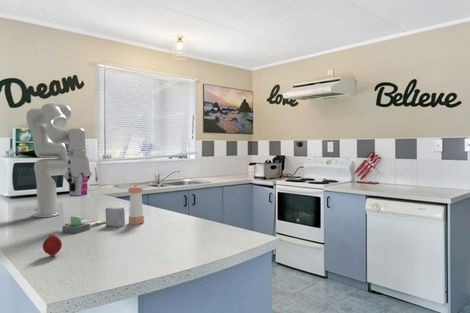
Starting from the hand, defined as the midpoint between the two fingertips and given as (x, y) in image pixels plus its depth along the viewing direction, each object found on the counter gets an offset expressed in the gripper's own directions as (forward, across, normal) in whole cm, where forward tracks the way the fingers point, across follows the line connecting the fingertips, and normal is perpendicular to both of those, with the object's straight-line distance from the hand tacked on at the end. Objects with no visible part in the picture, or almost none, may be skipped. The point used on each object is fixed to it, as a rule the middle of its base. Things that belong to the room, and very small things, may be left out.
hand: (78, 190), depth 166 cm
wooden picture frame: (+17, +2, -2) cm, 17 cm away
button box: (+17, -9, -8) cm, 21 cm away
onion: (+18, -38, -31) cm, 53 cm away
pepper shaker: (+17, +13, -24) cm, 32 cm away
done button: (+16, -9, -8) cm, 20 cm away
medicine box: (+17, +5, -18) cm, 26 cm away
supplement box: (+3, 0, 0) cm, 3 cm away
